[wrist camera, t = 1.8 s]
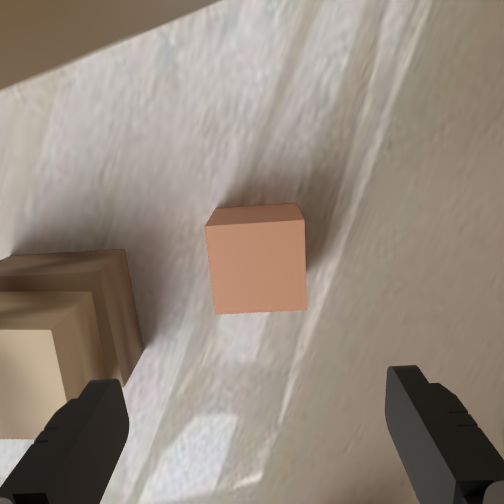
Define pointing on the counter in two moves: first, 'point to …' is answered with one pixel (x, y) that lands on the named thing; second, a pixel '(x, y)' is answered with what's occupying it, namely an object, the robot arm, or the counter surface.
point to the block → (257, 258)
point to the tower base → (103, 290)
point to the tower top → (44, 356)
